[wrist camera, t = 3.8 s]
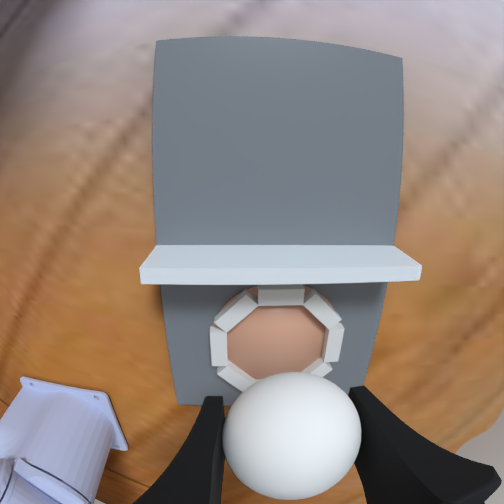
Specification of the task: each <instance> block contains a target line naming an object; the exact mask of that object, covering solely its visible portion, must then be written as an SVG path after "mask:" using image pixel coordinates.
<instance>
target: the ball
mask: <svg viewBox="0 0 504 504" xmlns="http://www.w3.org/2000/svg"><path fill="white" fill-rule="evenodd" d="M222 442H223V450H224V454H225V457H226V460H227V462H228V464H229V466H230V468H231V470H232V471H233V473H234V474H235V475H236V476H237V478H238V479H239V480H240V481H241V482H242V483H243V484H245V485H246V486H247V487H249V488H250V489H252V490H253V491H255V492H257V493H259V494H262V495H264V496H267V497H271V498H275V499H281V500H296V499H304V498H308V497H312V496H314V495H317V494H320V493H322V492H324V491H326V490H328V489H329V488H331V487H332V486H334V485H335V484H336V483H338V482H339V481H340V480H341V479H342V478H343V477H344V476H345V475H346V474H347V472H348V471H349V470H350V468H351V467H352V465H353V463H354V461H355V459H356V457H357V455H358V452H359V448H360V444H361V423H360V418H359V415H358V412H357V410H356V408H355V406H354V404H353V402H352V401H351V399H350V398H349V397H348V396H347V394H346V393H345V392H344V391H343V390H342V389H340V388H339V387H338V386H337V385H336V384H334V383H332V382H331V381H329V380H327V379H325V378H323V377H320V376H317V375H314V374H310V373H304V372H286V373H280V374H275V375H272V376H268V377H266V378H264V379H261V380H259V381H257V382H256V383H254V384H253V385H251V386H250V387H248V388H247V389H246V390H245V391H244V392H242V393H241V395H240V396H239V397H238V398H237V399H236V400H235V402H234V403H233V405H232V406H231V408H230V410H229V412H228V414H227V416H226V419H225V422H224V426H223V433H222Z"/></svg>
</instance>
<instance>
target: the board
mask: <svg viewBox="0 0 504 504" xmlns="http://www.w3.org/2000/svg"><path fill="white" fill-rule="evenodd" d="M403 126H404V93H403V65H402V58H400V57H396V56H392V55H387V54H383V53H379V52H374V51H370V50H365V49H360V48H354V47H349V46H343V45H337V44H330V43H323V42H315V41H306V40H296V39H285V38H270V37H237V36H229V37H196V38H181V39H169V40H159V41H156V50H155V65H154V85H153V124H152V153H153V192H154V214H155V230H156V244H157V245H156V247H155V248H154V249H153V250H152V252H151V253H150V254H149V256H148V257H147V258H146V260H145V261H144V262H143V264H142V265H141V266H140V268H139V270H140V278H141V284H160V288H161V297H162V306H163V314H164V322H165V329H166V337H167V343H168V350H169V357H170V363H171V369H172V375H173V381H174V386H175V392H176V397H177V403H178V404H182V405H203V401H204V398H205V397H206V396H223V403H224V406H232V405H233V403H234V402H235V400H236V399H237V398H238V397H239V396H240V395H241V393H242V392H244V391H245V390H246V389H247V388H248V387H250V386H251V385H253V384H254V383H256V382H257V381H259V380H261V379H264V378H266V377H268V376H272V375H275V374H280V373H286V372H304V373H310V374H314V375H317V376H320V377H323V378H325V379H327V380H329V381H331V382H332V383H334V384H336V385H337V386H338V387H339V388H340V389H342V390H343V391H344V392H345V393H346V394H347V396H348V394H349V390H350V387H357V386H363V383H364V380H365V376H366V373H367V369H368V366H369V362H370V358H371V355H372V351H373V347H374V343H375V339H376V335H377V330H378V326H379V322H380V317H381V313H382V308H383V303H384V298H385V293H386V288H387V283H388V282H391V281H413V280H420V275H421V270H422V265H420V264H419V263H418V262H416V261H415V260H413V259H412V258H411V257H409V256H408V255H406V254H405V253H403V252H402V251H401V250H399V249H398V248H396V247H395V246H394V239H395V232H396V224H397V215H398V206H399V196H400V185H401V172H402V155H403Z"/></svg>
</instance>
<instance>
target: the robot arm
mask: <svg viewBox="0 0 504 504" xmlns="http://www.w3.org/2000/svg"><path fill="white" fill-rule="evenodd" d="M20 381H21V384H22V386H23V387H22V389H21V390H20V391H19V393H18V394H17V396H16V397H15V399H14V400H13V402H12V403H11V405H10V406H9V408H8V409H7V411H6V412H5V414H4V415H3V417H2V418H1V420H0V504H93V503H94V500H95V497H96V494H97V490H98V487H99V483H100V480H101V477H102V474H103V470H104V467H105V464H106V461H107V458H108V454H109V451H110V448H112V449H117V450H123V451H126V450H128V445H127V442H126V440H125V438H124V435H123V433H122V430H121V428H120V425H119V423H118V420H117V418H116V415H115V413H114V410H113V407H112V405H111V402H110V399H109V397H108V395H107V394H106V393H104V392H100V391H94V390H88V389H82V388H76V387H70V386H65V385H60V384H55V383H50V382H45V381H41V380H37V379H32V378H28V377H24V376H22V377H21V379H20ZM97 396H98V397H97ZM348 397H349V398H350V399H351V401H352V402H353V404H354V406H355V408H356V410H357V412H358V415H359V418H360V423H361V444H360V448H359V452H358V455H357V457H356V459H355V461H354V463H355V466H356V468H357V471H358V474H359V476H360V479H361V482H362V485H363V488H364V492H365V497H366V501H367V504H485V503H484V501H485V500H487V499H488V498H489V496H490V495H492V494H493V493H494V492H495V491H496V490H497V488H498V487H499V486H500V484H501V481H502V480H501V478H500V477H499V475H498V474H497V472H496V470H495V469H494V467H493V466H490V465H485V464H482V463H478V462H474V461H471V460H469V459H466V458H463V457H460V456H458V455H456V454H453V453H451V452H449V451H447V450H445V449H443V448H441V447H439V446H437V445H436V444H434V443H432V442H431V441H429V440H427V439H426V438H424V437H423V436H421V435H420V434H418V433H417V432H415V431H414V430H413V429H412V428H410V427H409V426H408V425H406V424H405V423H404V422H403V421H401V420H400V419H399V418H398V417H397V416H396V415H395V414H393V413H392V412H391V411H390V410H389V409H388V408H387V407H386V406H385V405H384V404H383V403H382V402H380V401H379V400H378V399H377V398H376V397H375V396H374V395H373V394H372V393H371V392H370V391H369V390H368V389H367V388H366V387H365V386H357V387H350V390H349V394H348ZM224 422H225V416H224V403H223V396H206V397H205V398H204V401H203V405H202V407H201V410H200V413H199V415H198V417H197V419H196V422H195V424H194V426H193V428H192V430H191V431H190V433H189V435H188V437H187V439H186V441H185V442H184V444H183V445H182V447H181V449H180V450H179V452H178V453H177V455H176V456H175V458H174V459H173V461H172V462H171V463H170V465H169V466H168V467H167V469H166V470H165V471H164V472H163V474H162V475H161V476H160V477H159V478H158V479H157V480H156V482H155V483H154V484H153V485H152V486H151V487H150V488H149V489H148V490H147V491H146V492H145V493H144V494H143V495H142V496H140V497H139V498H138V499H137V500H136V501H135V502H134V503H133V504H221V491H222V481H223V472H224V462H225V454H224V450H223V442H222V433H223V426H224Z"/></svg>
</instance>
